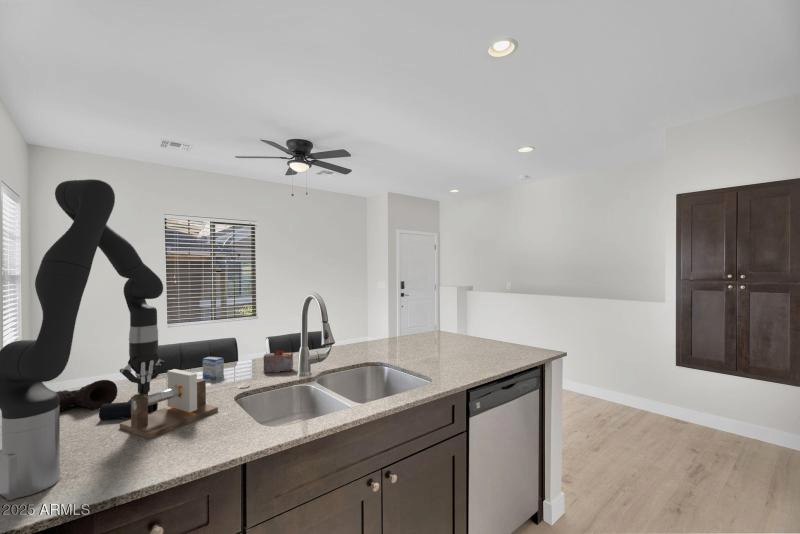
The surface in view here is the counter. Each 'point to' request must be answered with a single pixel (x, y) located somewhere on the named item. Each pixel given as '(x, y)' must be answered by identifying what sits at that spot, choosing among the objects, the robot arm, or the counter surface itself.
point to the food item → (278, 361)
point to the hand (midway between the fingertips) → (143, 394)
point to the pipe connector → (121, 409)
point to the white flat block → (183, 389)
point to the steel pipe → (161, 396)
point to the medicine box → (213, 367)
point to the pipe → (89, 395)
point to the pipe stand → (165, 415)
